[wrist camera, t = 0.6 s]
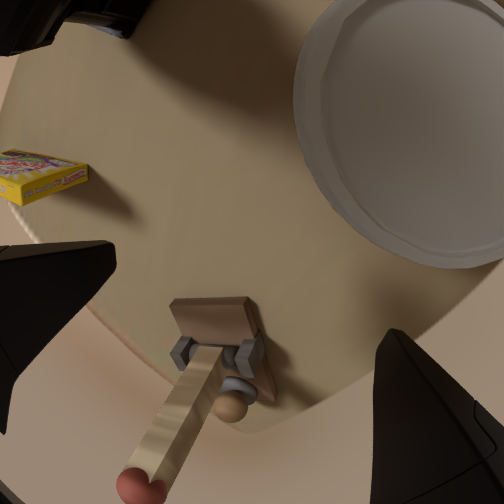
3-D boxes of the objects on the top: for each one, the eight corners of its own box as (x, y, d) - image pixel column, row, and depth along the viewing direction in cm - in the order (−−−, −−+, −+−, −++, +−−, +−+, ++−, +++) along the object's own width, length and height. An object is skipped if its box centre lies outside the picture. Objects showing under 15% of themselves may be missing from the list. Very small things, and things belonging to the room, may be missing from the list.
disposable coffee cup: (449, 194, 16) (540, 292, 6) (317, 178, 19) (284, 266, 9) (456, 60, 12) (566, 25, 2) (316, 40, 15) (277, -51, 4)
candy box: (89, 160, 24) (20, 186, 17) (89, 181, 25) (23, 211, 18) (14, 145, 26) (-37, 164, 19) (14, 161, 27) (-35, 182, 20)
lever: (193, 333, 27) (94, 485, 12) (235, 335, 26) (142, 511, 11) (205, 359, 29) (122, 503, 14) (245, 362, 27) (169, 525, 12)
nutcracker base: (173, 298, 28) (142, 335, 23) (249, 296, 25) (226, 340, 20) (216, 389, 33) (198, 424, 28) (279, 394, 30) (267, 435, 25)
